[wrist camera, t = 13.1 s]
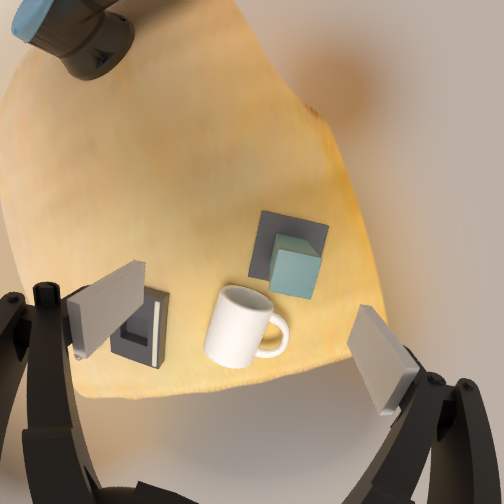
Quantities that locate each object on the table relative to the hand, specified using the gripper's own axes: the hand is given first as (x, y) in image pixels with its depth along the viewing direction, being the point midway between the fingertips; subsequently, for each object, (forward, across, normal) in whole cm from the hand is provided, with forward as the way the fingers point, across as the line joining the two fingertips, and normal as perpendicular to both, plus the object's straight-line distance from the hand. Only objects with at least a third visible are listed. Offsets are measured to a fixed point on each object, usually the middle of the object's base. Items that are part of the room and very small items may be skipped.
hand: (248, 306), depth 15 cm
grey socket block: (+25, -18, -19) cm, 36 cm away
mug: (+25, +1, -14) cm, 29 cm away
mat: (+25, +4, -2) cm, 26 cm away
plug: (+25, +4, -1) cm, 25 cm away
